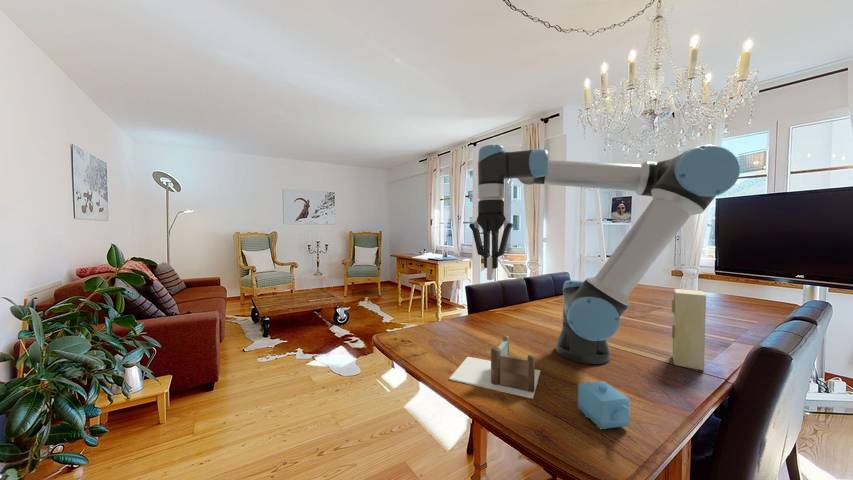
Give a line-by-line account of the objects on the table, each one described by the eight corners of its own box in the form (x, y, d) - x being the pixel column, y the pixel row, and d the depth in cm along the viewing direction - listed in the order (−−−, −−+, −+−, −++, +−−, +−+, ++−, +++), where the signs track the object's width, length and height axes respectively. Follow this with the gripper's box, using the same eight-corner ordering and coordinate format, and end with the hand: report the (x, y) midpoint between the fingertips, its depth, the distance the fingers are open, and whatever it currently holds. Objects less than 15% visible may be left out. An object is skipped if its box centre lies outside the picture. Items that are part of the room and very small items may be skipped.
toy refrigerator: (669, 355, 97) (671, 287, 96) (700, 361, 93) (703, 290, 92) (670, 364, 90) (672, 292, 89) (704, 371, 86) (707, 295, 85)
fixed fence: (535, 388, 77) (535, 354, 76) (533, 393, 75) (534, 358, 74) (492, 379, 81) (492, 347, 81) (489, 383, 79) (489, 350, 79)
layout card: (540, 371, 86) (540, 369, 86) (533, 398, 73) (533, 396, 73) (467, 357, 96) (467, 356, 96) (449, 379, 82) (449, 377, 82)
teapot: (643, 441, 59) (644, 402, 58) (614, 445, 58) (615, 406, 57) (597, 405, 70) (598, 372, 70) (573, 408, 69) (573, 375, 69)
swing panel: (500, 378, 81) (500, 348, 81) (494, 377, 82) (494, 347, 81) (509, 363, 90) (509, 335, 90) (503, 362, 91) (503, 335, 90)
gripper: (516, 199, 92) (515, 279, 94) (474, 201, 99) (474, 275, 100) (509, 197, 86) (509, 283, 87) (465, 199, 92) (465, 279, 93)
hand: (490, 279), depth 93 cm, fingers closed
